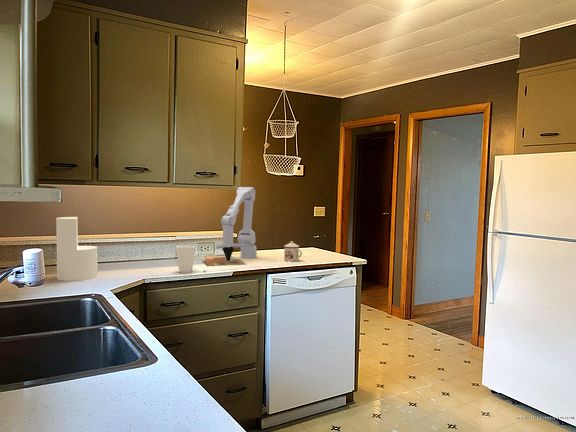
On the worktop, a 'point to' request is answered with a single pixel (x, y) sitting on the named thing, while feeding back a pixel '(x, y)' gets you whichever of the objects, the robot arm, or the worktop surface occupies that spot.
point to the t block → (214, 260)
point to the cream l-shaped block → (73, 253)
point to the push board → (227, 263)
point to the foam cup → (185, 258)
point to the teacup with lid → (292, 252)
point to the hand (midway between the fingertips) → (228, 260)
